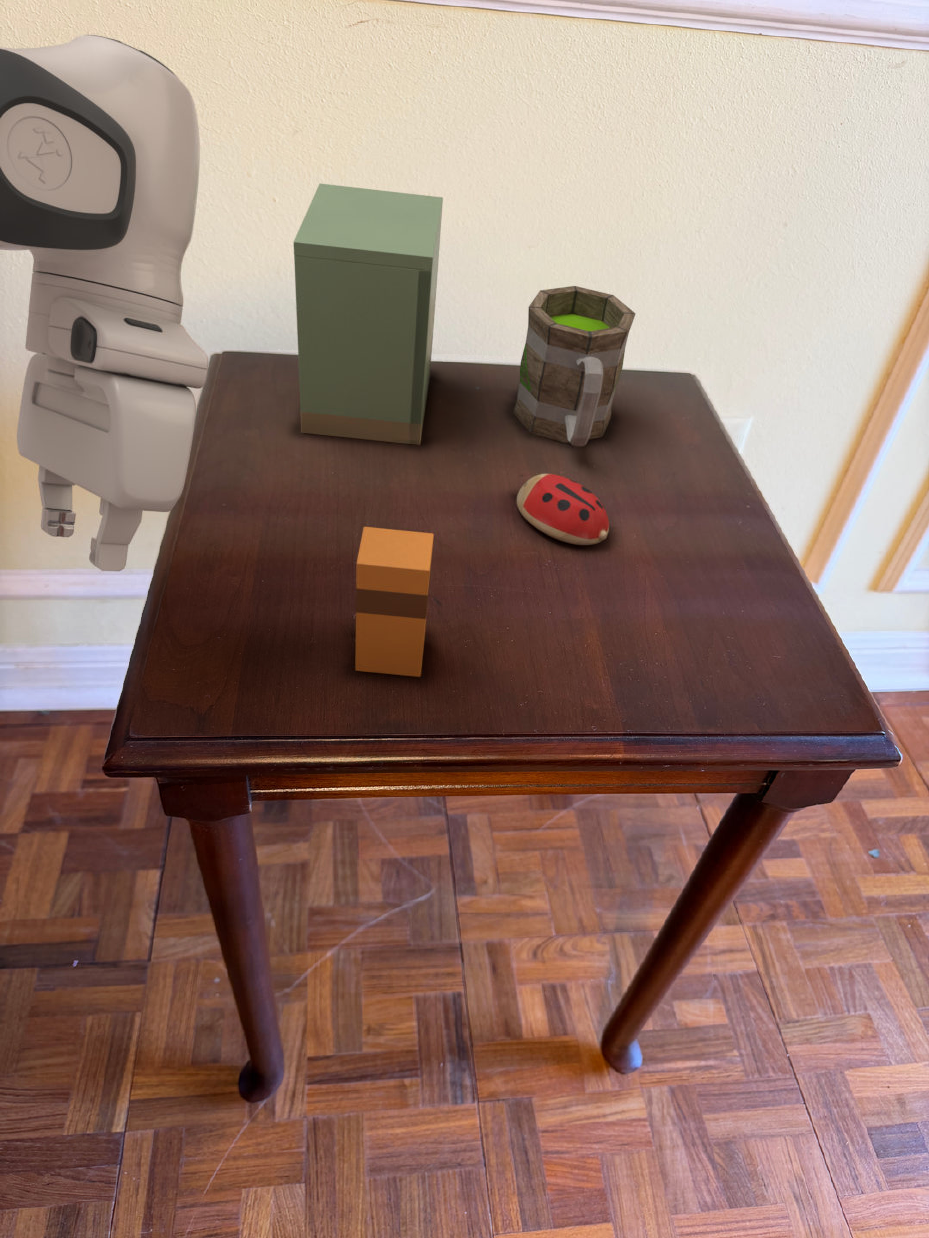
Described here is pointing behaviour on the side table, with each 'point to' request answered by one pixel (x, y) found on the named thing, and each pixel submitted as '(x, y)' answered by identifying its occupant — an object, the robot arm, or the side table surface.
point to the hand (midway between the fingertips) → (80, 550)
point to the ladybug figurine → (563, 509)
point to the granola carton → (392, 600)
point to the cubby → (366, 311)
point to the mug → (571, 363)
